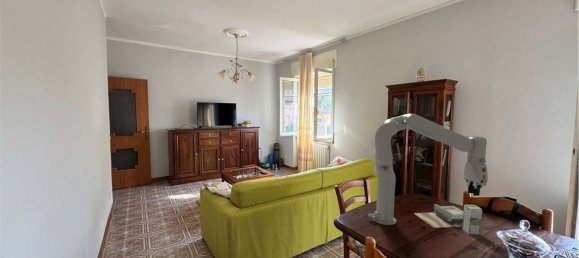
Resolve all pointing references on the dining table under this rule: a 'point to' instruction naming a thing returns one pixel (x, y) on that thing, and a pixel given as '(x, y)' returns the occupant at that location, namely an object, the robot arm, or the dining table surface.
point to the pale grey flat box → (449, 213)
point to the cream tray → (437, 220)
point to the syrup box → (472, 219)
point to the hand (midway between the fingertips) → (473, 194)
